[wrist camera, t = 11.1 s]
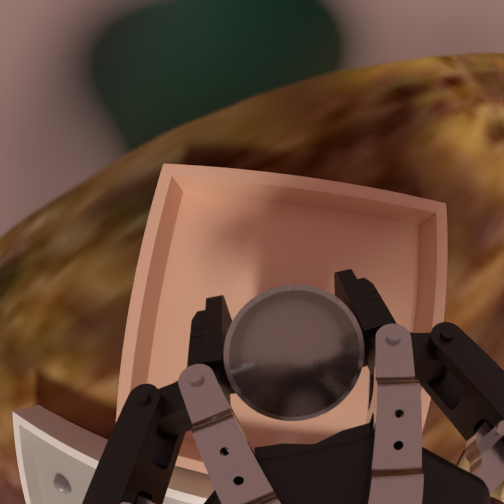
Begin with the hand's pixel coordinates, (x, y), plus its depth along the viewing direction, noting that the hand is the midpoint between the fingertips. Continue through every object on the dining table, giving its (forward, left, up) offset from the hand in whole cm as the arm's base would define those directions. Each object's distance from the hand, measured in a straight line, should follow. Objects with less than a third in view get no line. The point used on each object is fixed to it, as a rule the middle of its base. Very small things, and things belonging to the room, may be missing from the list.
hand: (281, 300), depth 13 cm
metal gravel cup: (+1, -2, -5) cm, 6 cm away
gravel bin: (-9, -22, -6) cm, 24 cm away
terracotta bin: (+1, -2, -6) cm, 6 cm away
